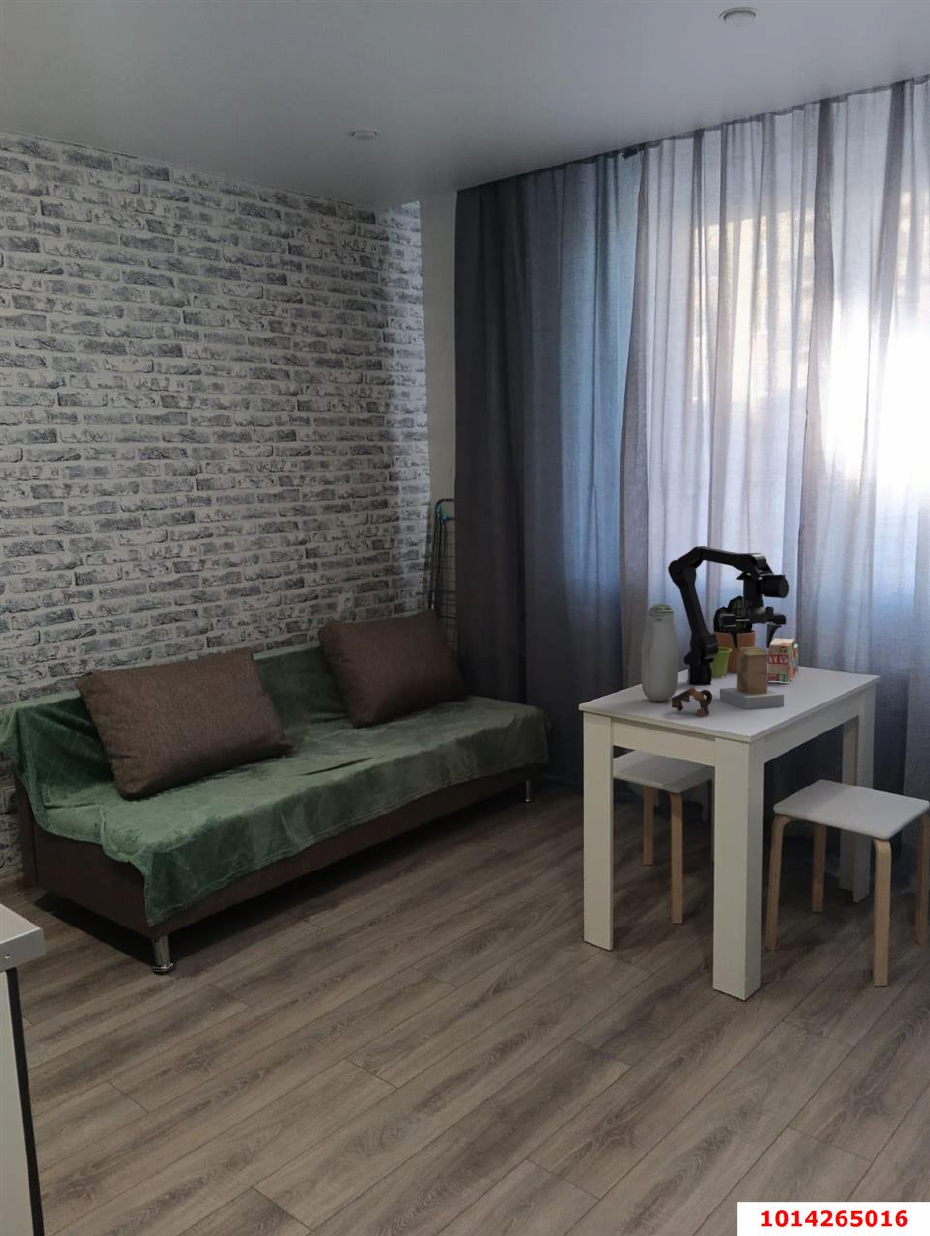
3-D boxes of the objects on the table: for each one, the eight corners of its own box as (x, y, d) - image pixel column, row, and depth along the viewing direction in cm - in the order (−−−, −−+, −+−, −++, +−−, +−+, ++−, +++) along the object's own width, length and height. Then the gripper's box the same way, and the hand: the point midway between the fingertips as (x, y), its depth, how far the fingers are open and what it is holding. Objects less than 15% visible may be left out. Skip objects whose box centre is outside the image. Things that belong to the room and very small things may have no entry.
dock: (719, 699, 302) (719, 687, 302) (756, 695, 306) (756, 684, 305) (745, 708, 289) (745, 697, 289) (783, 705, 292) (784, 694, 292)
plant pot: (736, 677, 334) (736, 650, 333) (708, 679, 332) (708, 652, 331) (724, 672, 343) (724, 646, 342) (696, 673, 341) (697, 647, 340)
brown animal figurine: (695, 721, 278) (680, 694, 279) (675, 730, 286) (660, 703, 287) (726, 704, 284) (711, 677, 285) (705, 713, 292) (691, 687, 293)
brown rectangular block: (736, 690, 299) (737, 647, 297) (755, 689, 301) (756, 646, 299) (747, 694, 293) (748, 650, 292) (766, 693, 295) (767, 649, 293)
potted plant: (727, 664, 356) (728, 591, 353) (763, 669, 346) (764, 594, 343) (704, 670, 347) (705, 595, 344) (740, 675, 337) (741, 598, 334)
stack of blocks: (778, 671, 345) (779, 634, 343) (798, 672, 342) (799, 635, 340) (767, 682, 325) (768, 643, 324) (788, 684, 323) (789, 644, 321)
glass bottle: (666, 705, 294) (667, 607, 291) (635, 701, 301) (635, 604, 297) (684, 700, 302) (685, 603, 298) (653, 695, 309) (653, 601, 305)
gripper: (727, 599, 301) (726, 653, 303) (792, 598, 301) (791, 652, 303) (718, 595, 312) (717, 646, 314) (781, 594, 312) (780, 646, 314)
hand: (751, 648), depth 311 cm, fingers open, 9 cm apart
